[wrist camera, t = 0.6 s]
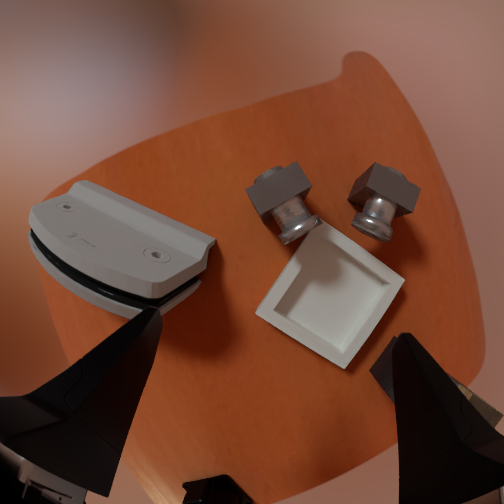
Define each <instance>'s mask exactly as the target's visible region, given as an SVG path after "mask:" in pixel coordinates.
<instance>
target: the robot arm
mask: <svg viewBox="0 0 504 504" xmlns="http://www.w3.org/2000/svg"><path fill="white" fill-rule="evenodd" d="M162 327H163V323H162V318H161V313H160V310H159V308H157V307H152V306H148V307H146V308H145V309H144V310H142V311H141V312H140V313H139V314H137V315H136V316H135V317H133V318H132V319H131V320H129V321H128V322H127V323H126V324H124V325H123V326H122V327H120V328H119V329H118V330H116V331H115V332H114V333H113V334H111V335H110V336H109V337H107V338H106V339H105V340H104V341H102V342H101V343H100V344H98V345H97V346H96V347H95V348H93V349H92V350H91V351H90V352H88V353H87V354H86V355H85V356H83V357H82V358H81V359H79V360H78V361H77V362H76V363H74V364H73V365H72V366H70V367H69V368H68V369H66V370H65V371H64V372H62V373H61V374H59V375H58V376H56V377H55V378H53V379H52V380H50V381H48V382H47V383H45V384H44V385H42V386H41V387H39V388H37V389H36V390H34V391H32V392H31V393H29V394H26V395H22V396H10V397H0V504H86V502H85V497H86V494H87V491H88V490H89V491H91V492H94V493H97V494H99V495H102V496H104V497H108V496H109V493H110V490H111V487H112V483H113V480H114V477H115V473H116V470H117V467H118V464H119V460H120V457H121V454H122V451H123V448H124V445H125V441H126V438H127V435H128V432H129V429H130V427H131V424H132V421H133V418H134V415H135V412H136V409H137V406H138V404H139V401H140V398H141V395H142V392H143V390H144V387H145V384H146V382H147V379H148V376H149V374H150V371H151V368H152V365H153V362H154V359H155V355H156V351H157V347H158V343H159V339H160V335H161V331H162ZM391 355H392V381H393V393H394V402H395V411H396V422H397V435H398V451H399V477H400V478H399V504H504V436H503V435H502V434H500V433H499V432H498V431H496V430H495V428H494V427H493V426H492V425H491V424H490V423H489V422H488V421H487V420H486V419H485V418H484V417H483V416H482V415H481V414H480V413H479V411H478V410H477V409H476V408H475V407H474V406H473V405H472V404H471V402H470V401H469V400H468V399H467V398H466V396H465V395H464V394H463V393H462V392H461V390H460V389H459V388H458V387H457V385H456V384H455V383H454V382H453V381H452V379H451V378H450V377H449V376H448V375H447V374H446V372H445V371H444V370H443V369H442V368H441V367H440V365H439V364H438V363H437V362H436V361H435V360H434V358H433V357H432V356H431V355H430V354H429V353H428V352H427V351H426V349H425V348H424V347H423V346H422V345H421V344H420V343H419V342H418V340H417V339H416V338H415V337H414V336H413V335H412V334H411V333H401V334H399V336H398V338H397V339H396V341H395V343H394V344H393V346H392V350H391ZM224 478H225V479H224ZM182 487H183V488H184V489H185V490H186V491H187V493H186V495H185V497H184V500H183V503H182V504H253V501H252V500H251V499H250V498H249V497H248V496H247V495H246V494H245V493H244V492H243V491H242V490H241V489H240V488H239V487H238V486H237V485H236V484H235V483H234V482H233V481H232V480H231V479H230V478H229V477H228V476H227V475H219V476H215V477H211V478H206V479H201V480H196V481H191V482H185V483H183V485H182Z"/></svg>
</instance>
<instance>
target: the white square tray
mask: <svg viewBox="0 0 504 504" xmlns="http://www.w3.org/2000/svg"><path fill="white" fill-rule="evenodd" d="M320 220H321V222H322V223H323V224H321V225H319V226H318V227H316V228H314V229H313V230H311V231H309V232H308V233H307V234H306V236H305V238H304V239H303V241H302V242H301V244H300V245H299V247H298V248H297V250H296V251H295V253H294V254H293V256H292V257H291V259H290V260H289V262H288V263H287V265H286V266H285V268H284V269H283V271H282V272H281V274H280V275H279V277H278V278H277V280H276V281H275V283H274V284H273V286H272V287H271V289H270V290H269V292H268V293H267V295H266V296H265V298H264V299H263V300H262V302H261V303H260V305H259V306H258V308H257V310H256V313H255V314H257V315H258V316H260V317H261V318H263V319H264V320H266V321H267V322H269V323H270V324H272V325H274V326H275V327H277V328H278V329H280V330H281V331H283V332H284V333H286V334H288V335H289V336H291V337H292V338H294V339H296V340H297V341H299V342H300V343H302V344H304V345H305V346H307V347H308V348H310V349H312V350H313V351H315V352H316V353H318V354H320V355H321V356H323V357H325V358H326V359H328V360H330V361H331V362H333V363H335V364H336V365H338V366H340V367H341V368H343V369H345V368H346V366H347V365H348V364H349V363H350V361H351V360H352V359H353V357H354V356H355V355H356V353H357V352H358V351H359V349H360V348H361V346H362V345H363V344H364V342H365V341H366V339H367V338H368V337H369V335H370V334H371V332H372V331H373V329H374V328H375V327H376V325H377V324H378V322H379V321H380V319H381V318H382V316H383V315H384V313H385V311H386V310H387V308H388V307H389V305H390V304H391V302H392V300H393V299H394V297H395V296H396V294H397V292H398V291H399V289H400V287H401V286H402V284H403V282H404V281H405V279H403V278H402V277H401V276H399V275H398V274H397V273H395V272H394V271H393V270H391V269H390V268H389V267H387V266H386V265H385V264H383V263H382V262H381V261H379V260H378V259H377V258H375V257H374V256H373V255H371V254H370V253H369V252H367V251H366V250H364V249H363V248H362V247H360V246H359V245H357V244H356V243H355V242H353V241H352V240H350V239H349V238H348V237H346V236H345V235H343V234H342V233H340V232H339V231H338V230H336V229H335V228H333V227H332V226H330V225H329V224H327V223H326V222H324V221H323V220H322V219H320Z"/></svg>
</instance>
